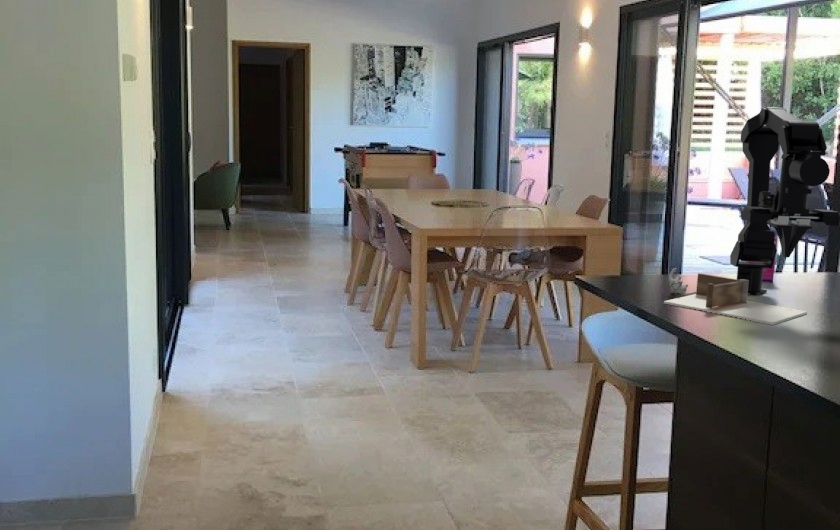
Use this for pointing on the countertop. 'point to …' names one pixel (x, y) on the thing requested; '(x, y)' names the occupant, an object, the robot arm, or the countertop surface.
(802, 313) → the card
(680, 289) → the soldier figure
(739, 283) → the fence panel
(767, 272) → the supplement box
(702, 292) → the fence base
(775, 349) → the countertop surface
